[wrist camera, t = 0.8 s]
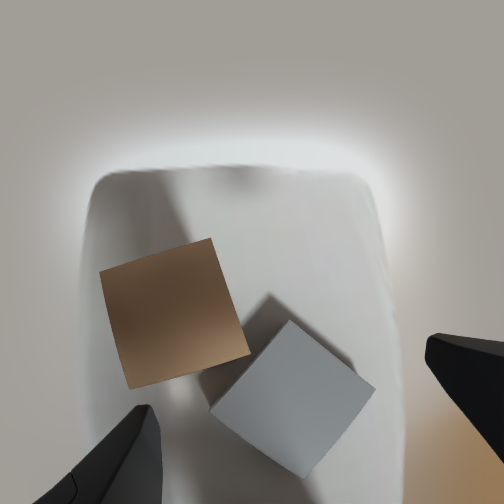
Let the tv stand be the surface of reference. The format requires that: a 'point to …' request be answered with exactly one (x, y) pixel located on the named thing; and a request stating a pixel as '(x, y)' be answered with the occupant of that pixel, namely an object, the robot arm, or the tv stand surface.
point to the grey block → (293, 400)
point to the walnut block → (172, 314)
